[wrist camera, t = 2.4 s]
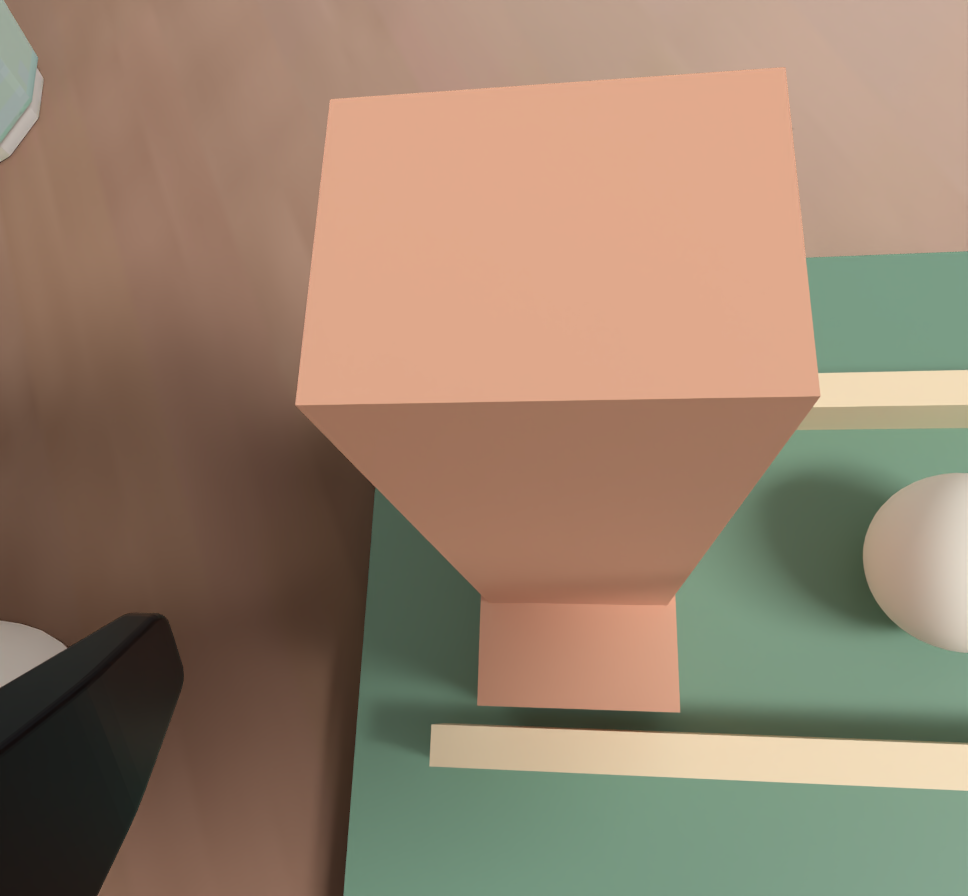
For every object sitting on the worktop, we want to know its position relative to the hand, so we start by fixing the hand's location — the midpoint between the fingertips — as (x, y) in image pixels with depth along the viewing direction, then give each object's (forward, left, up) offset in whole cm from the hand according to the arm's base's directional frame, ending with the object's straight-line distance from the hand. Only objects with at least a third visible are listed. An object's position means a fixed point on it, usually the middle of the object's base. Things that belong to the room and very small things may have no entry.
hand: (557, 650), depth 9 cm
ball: (+7, -3, -8) cm, 11 cm away
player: (+2, +2, -9) cm, 9 cm away
